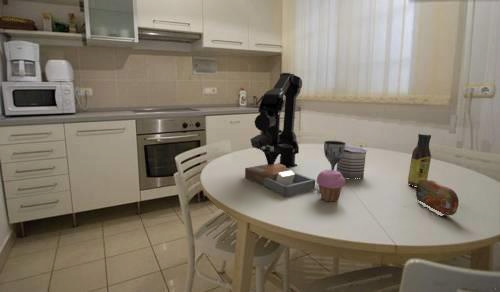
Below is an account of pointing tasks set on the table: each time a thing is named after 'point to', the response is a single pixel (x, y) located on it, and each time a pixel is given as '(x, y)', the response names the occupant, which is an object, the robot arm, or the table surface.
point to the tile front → (285, 177)
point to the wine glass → (334, 151)
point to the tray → (291, 185)
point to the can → (352, 162)
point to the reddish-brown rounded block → (437, 197)
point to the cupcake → (330, 184)
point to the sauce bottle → (420, 160)
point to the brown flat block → (259, 174)
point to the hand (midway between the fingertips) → (270, 167)
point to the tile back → (275, 168)
